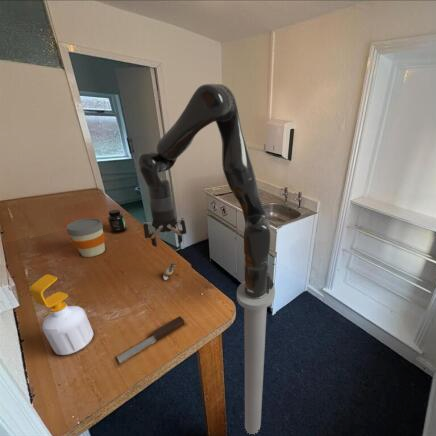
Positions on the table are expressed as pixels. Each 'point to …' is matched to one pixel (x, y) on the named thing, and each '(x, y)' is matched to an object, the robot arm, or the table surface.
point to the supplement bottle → (116, 221)
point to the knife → (153, 338)
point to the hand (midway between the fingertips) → (168, 244)
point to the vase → (169, 271)
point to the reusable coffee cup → (87, 236)
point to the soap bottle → (62, 320)
